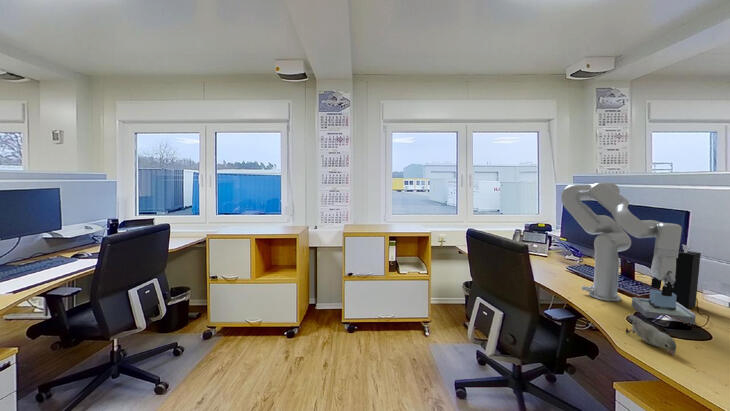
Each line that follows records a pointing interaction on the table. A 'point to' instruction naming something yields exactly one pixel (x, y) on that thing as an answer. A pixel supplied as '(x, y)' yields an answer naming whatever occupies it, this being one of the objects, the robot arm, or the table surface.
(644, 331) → the decorative bird
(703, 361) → the table surface
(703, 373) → the table surface
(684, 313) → the dock
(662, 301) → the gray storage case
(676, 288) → the black tall block
